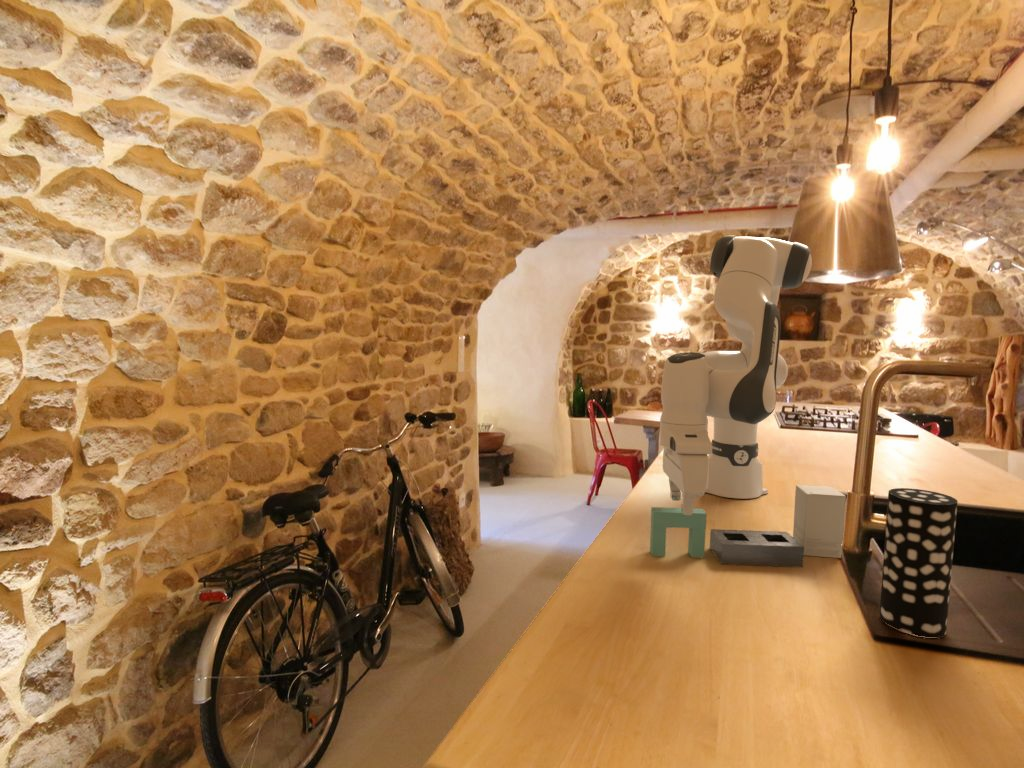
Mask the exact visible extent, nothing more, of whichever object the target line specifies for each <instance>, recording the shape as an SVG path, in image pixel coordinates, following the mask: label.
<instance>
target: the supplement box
mask: <svg viewBox="0 0 1024 768" xmlns="http://www.w3.org/2000/svg"><path fill="white" fill-rule="evenodd" d="M846 499H847V496H846V495H845V494H843V493H842V492H841V491H840V490H838V489H836V488H835V487H834V486H827V485H806V484H804V485H803V484H796V485H795V495H794V512H793V515H794V516H793V531H792V537H793V538H794V539H796V540H797V541H798V542H799V543H800V544H801V545H803V546H804V556H811V557H822V558H834V559H842V558H841V555H842V556H843V549H842V547H841V544H842V541H843V542H844V533H845V532H844V531H845V529H844V528H845V515H846V514H845V513H846Z"/></svg>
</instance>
